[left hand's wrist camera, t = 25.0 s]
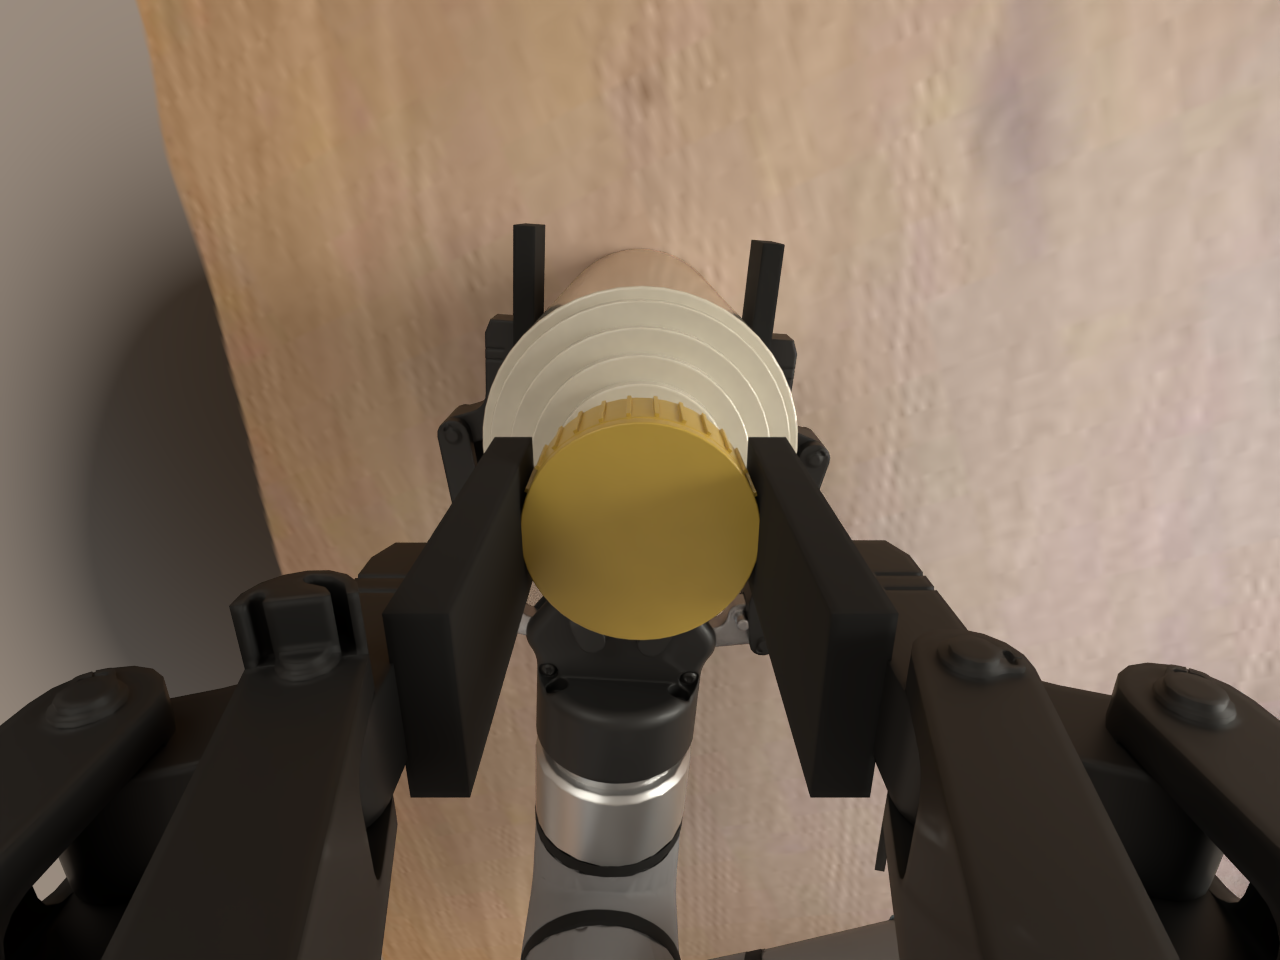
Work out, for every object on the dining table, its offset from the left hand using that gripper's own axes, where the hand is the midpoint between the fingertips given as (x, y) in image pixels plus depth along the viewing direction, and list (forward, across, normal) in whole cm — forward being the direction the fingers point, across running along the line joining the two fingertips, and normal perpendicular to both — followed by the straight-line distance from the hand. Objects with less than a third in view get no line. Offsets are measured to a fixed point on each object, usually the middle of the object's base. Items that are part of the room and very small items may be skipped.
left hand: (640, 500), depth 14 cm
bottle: (+20, 0, 0) cm, 20 cm away
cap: (-1, 0, 0) cm, 1 cm away
